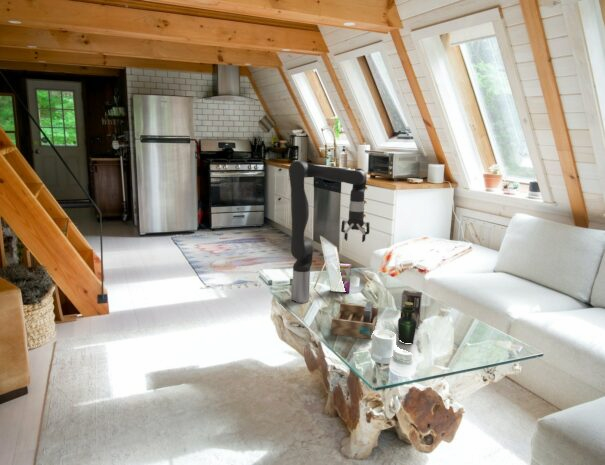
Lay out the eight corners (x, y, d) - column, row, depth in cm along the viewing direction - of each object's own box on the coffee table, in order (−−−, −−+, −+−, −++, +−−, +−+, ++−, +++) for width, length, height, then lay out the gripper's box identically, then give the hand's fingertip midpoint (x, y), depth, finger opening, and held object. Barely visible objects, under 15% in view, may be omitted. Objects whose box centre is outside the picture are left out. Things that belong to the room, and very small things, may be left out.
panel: (362, 331, 223) (363, 310, 221) (365, 321, 234) (367, 302, 232) (369, 331, 222) (370, 311, 220) (372, 322, 233) (373, 302, 231)
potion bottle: (409, 347, 210) (412, 308, 206) (392, 341, 215) (395, 303, 212) (418, 341, 216) (421, 303, 212) (402, 336, 221) (405, 298, 217)
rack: (331, 333, 221) (332, 319, 219) (340, 316, 243) (340, 303, 241) (372, 339, 216) (373, 324, 215) (377, 320, 238) (378, 307, 237)
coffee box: (419, 323, 237) (422, 292, 233) (418, 328, 231) (421, 296, 227) (401, 320, 240) (403, 289, 236) (399, 325, 234) (401, 293, 230)
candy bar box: (330, 292, 278) (331, 264, 275) (330, 289, 283) (331, 262, 280) (349, 293, 277) (351, 266, 274) (349, 290, 282) (351, 263, 279)
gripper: (341, 209, 242) (339, 241, 246) (369, 212, 239) (367, 243, 242) (343, 207, 249) (342, 238, 253) (371, 209, 246) (369, 240, 249)
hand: (354, 241), depth 247 cm, fingers open, 8 cm apart
